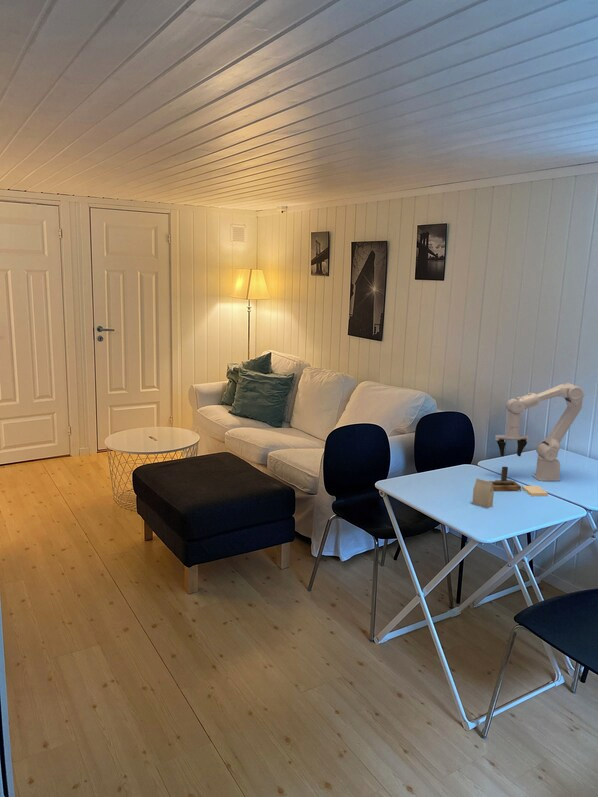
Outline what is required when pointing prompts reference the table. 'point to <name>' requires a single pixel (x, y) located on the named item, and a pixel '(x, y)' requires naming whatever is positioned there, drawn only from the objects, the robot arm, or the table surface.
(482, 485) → the tea bag
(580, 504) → the table surface
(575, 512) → the table surface
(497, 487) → the frame
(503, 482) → the turner
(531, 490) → the tile
